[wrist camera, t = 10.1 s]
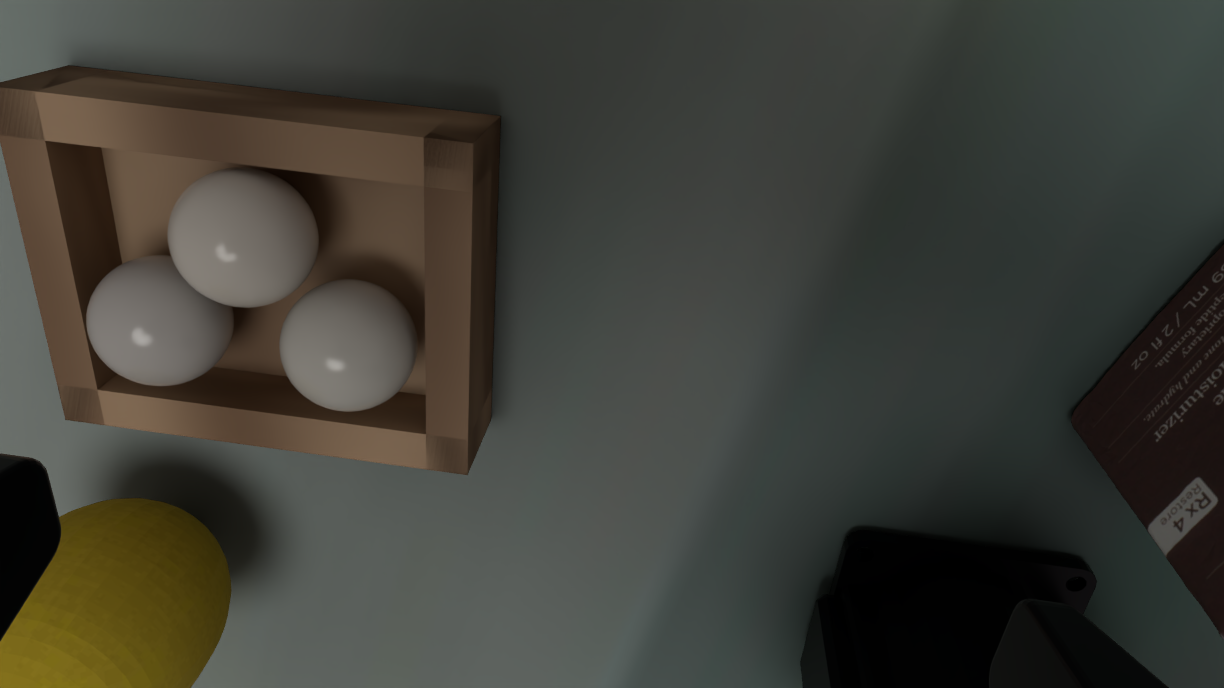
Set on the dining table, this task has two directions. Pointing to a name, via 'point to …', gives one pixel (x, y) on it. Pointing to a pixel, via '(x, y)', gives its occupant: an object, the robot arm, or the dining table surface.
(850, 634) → the robot arm
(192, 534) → the lemon
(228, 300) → the grey ball
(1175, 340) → the box
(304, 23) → the dining table surface
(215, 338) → the pebble
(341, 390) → the grey sphere
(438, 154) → the pebble tray
